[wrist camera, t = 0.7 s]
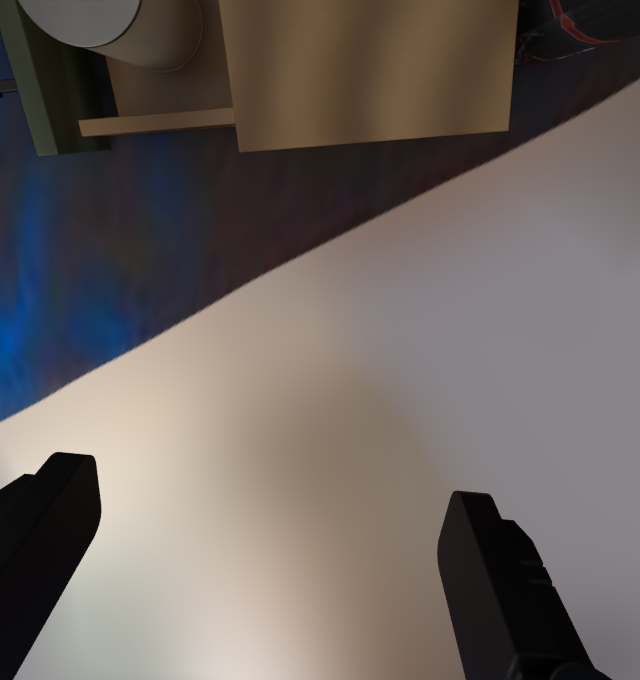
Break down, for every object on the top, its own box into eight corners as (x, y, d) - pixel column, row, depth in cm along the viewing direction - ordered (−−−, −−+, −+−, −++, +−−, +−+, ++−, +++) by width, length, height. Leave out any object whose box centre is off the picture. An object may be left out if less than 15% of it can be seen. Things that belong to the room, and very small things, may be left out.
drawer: (33, 156, 32) (-40, 162, 26) (-45, -101, 27) (-161, -173, 20) (279, 136, 31) (266, 137, 25) (252, -134, 26) (226, -219, 19)
